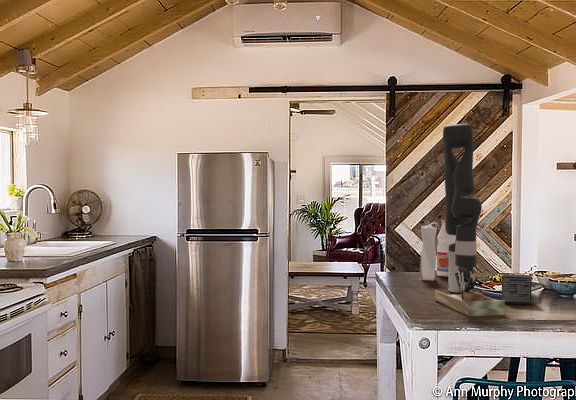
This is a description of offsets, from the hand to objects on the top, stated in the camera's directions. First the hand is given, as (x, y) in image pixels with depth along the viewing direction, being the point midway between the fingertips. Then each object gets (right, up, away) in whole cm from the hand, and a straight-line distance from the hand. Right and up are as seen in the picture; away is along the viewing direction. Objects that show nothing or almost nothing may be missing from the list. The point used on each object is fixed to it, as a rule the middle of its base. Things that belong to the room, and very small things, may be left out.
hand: (465, 300), depth 205 cm
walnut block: (+1, -2, -5) cm, 5 cm away
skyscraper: (+3, -2, +67) cm, 67 cm away
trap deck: (+2, -3, +5) cm, 6 cm away
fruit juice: (+15, -2, +80) cm, 81 cm away
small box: (+24, -3, +13) cm, 27 cm away
